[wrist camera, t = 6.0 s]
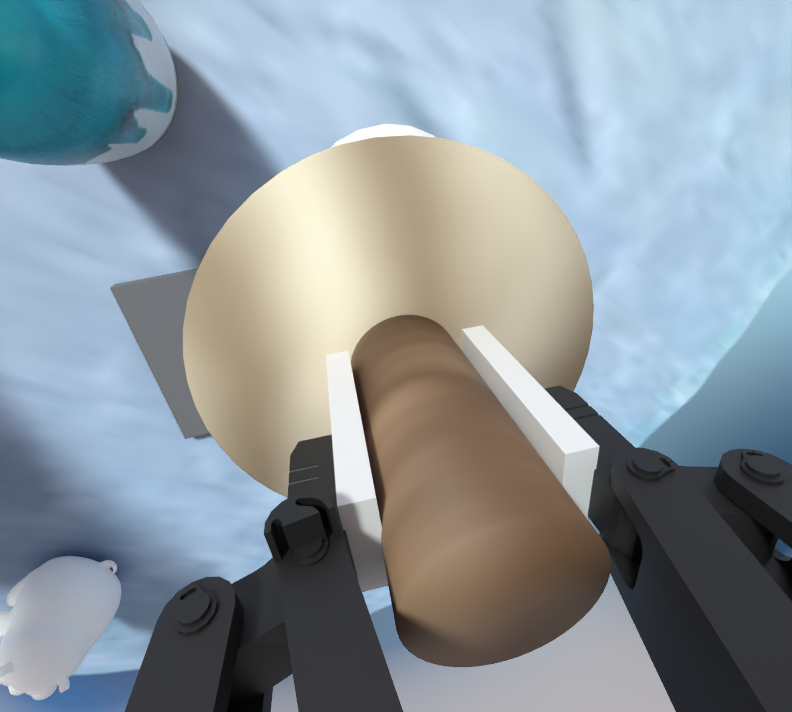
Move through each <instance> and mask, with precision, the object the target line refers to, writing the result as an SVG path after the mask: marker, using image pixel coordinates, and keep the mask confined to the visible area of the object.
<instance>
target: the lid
mask: <svg viewBox="0 0 792 712" xmlns="http://www.w3.org/2000/svg"><path fill="white" fill-rule="evenodd" d="M593 308H594V305H593V293H592V282H591V277H590V273H589V269H588V264H587V260H586V257H585V254H584V252H583V249H582V247H581V244H580V242H579V239H578V237H577V234H576V233H575V231H574V229H573V228H572V226H571V224H570V222H569V221H568V219H567V217H566V216H565V214H564V212H563V211H562V210H561V209H560V208H559V206H558V205H557V204H556V203H555V201H554V200H553V199H552V198H551V197H550V195H549V194H548V193H547V192H546V191H545V190H544V189H543V188H542V187H540V186H539V185H538V184H537V183H536V182H535V181H534V180H533V179H531V178H530V177H529V176H528V175H527V174H526V173H524V172H523V171H521V170H519V169H518V168H516V167H515V166H513V165H511V164H510V163H508V162H507V161H505V160H504V159H502V158H500V157H498V156H495V155H493V154H491V153H488V152H486V151H484V150H481V149H479V148H477V147H474V146H471V145H467V144H463V143H459V142H455V141H451V140H447V139H443V138H434V137H424V136H413V135H405V136H388V137H374V138H368V139H364V140H359V141H354V142H349V143H344V144H340V145H337V146H334V147H332V148H329V149H326V150H324V151H321V152H318V153H316V154H313V155H310V156H308V157H306V158H305V159H303V160H301V161H299V162H297V163H296V164H294V165H292V166H290V167H288V168H286V169H285V170H283V171H281V172H280V173H279V174H277V175H276V176H275V177H273V178H272V179H271V180H270V181H268V182H267V183H266V184H264V185H263V186H262V187H260V188H259V189H258V190H256V191H255V192H254V193H253V194H252V195H251V196H250V197H249V198H248V199H247V200H246V201H245V202H244V203H243V204H242V205H241V206H240V207H239V208H238V209H237V210H236V211H235V212H234V213H233V214H232V215H231V216H230V217H229V219H228V220H227V221H226V223H225V224H224V226H223V227H222V228H221V230H220V231H219V233H218V234H217V235H216V237H215V238H214V240H213V241H212V243H211V244H210V246H209V248H208V250H207V252H206V254H205V256H204V258H203V260H202V262H201V264H200V266H199V268H198V270H197V272H196V275H195V278H194V281H193V284H192V287H191V290H190V293H189V297H188V300H187V305H186V312H185V318H184V325H183V359H184V365H185V371H186V377H187V383H188V386H189V389H190V392H191V395H192V398H193V401H194V404H195V407H196V409H197V410H198V412H199V414H200V416H201V418H202V420H203V422H204V424H205V426H206V428H207V430H208V431H209V432H210V434H211V435H212V437H213V438H214V439H215V441H216V442H217V444H218V445H219V446H220V448H221V449H222V450H223V451H224V452H225V453H226V454H227V455H228V456H229V457H230V458H231V459H232V461H233V462H234V463H235V464H236V465H237V466H239V467H240V468H241V469H242V470H244V471H245V472H246V473H247V474H249V475H250V476H251V477H252V478H254V479H255V480H257V481H258V482H260V483H261V484H263V485H265V486H266V487H268V488H269V489H271V490H273V491H275V492H277V493H279V494H281V495H283V496H285V497H288V485H289V473H290V471H289V467H290V455H291V453H292V452H293V450H294V448H295V447H296V445H297V443H298V442H299V441H303V440H308V439H313V438H317V437H322V436H327V435H332V431H331V418H330V405H329V392H328V379H327V366H326V355H328V354H333V353H338V352H344V351H348V352H349V357H350V362H351V367H352V373H353V378H354V383H355V388H356V394H357V399H358V404H359V410H360V415H361V420H362V425H363V431H364V436H365V441H366V447H367V452H368V457H369V462H370V468H371V473H372V478H373V484H374V489H375V494H376V499H377V505H378V510H379V515H380V521H381V526H382V532H381V545H382V552H383V557H384V563H385V568H386V574H387V579H388V585H389V591H390V596H391V602H392V607H393V613H394V618H395V624H396V630H397V633H398V636H399V639H400V640H401V642H402V644H403V645H404V646H405V647H406V649H407V650H408V651H409V652H411V653H412V654H413V655H415V656H416V657H418V658H420V659H422V660H424V661H427V662H430V663H433V664H437V665H443V666H451V667H473V666H482V665H488V664H494V663H498V662H502V661H506V660H509V659H512V658H515V657H518V656H521V655H523V654H526V653H529V652H531V651H533V650H535V649H537V648H539V647H542V646H543V645H545V644H547V643H549V642H551V641H552V640H554V639H556V638H557V637H559V636H560V635H562V634H563V633H565V632H566V631H567V630H569V629H570V628H571V627H572V626H574V625H575V624H576V623H577V622H578V621H579V620H580V619H582V618H583V617H584V616H585V615H586V614H587V613H588V612H589V611H590V609H591V608H592V607H593V606H594V604H595V603H596V602H597V600H598V599H599V597H600V596H601V594H602V593H603V591H604V589H605V586H606V584H607V582H608V578H609V575H610V569H611V560H610V554H609V551H608V548H607V546H606V545H605V543H604V541H603V540H602V538H601V537H600V536H599V534H598V533H597V532H596V530H595V529H594V528H593V526H592V525H591V524H590V522H589V521H588V520H587V518H586V517H585V516H584V514H583V513H582V512H581V510H580V509H579V508H578V506H577V505H576V504H575V502H574V501H573V500H572V498H571V497H570V495H569V494H568V493H567V491H566V490H565V489H564V487H563V486H562V485H561V483H560V482H559V481H558V479H557V478H556V477H555V475H554V474H553V473H552V471H551V470H550V469H549V467H548V466H547V465H546V463H545V462H544V461H543V459H542V458H541V457H540V455H539V454H538V453H537V451H536V450H535V449H534V447H533V446H532V444H531V443H530V442H529V440H528V439H527V438H526V436H525V435H524V434H523V432H522V431H521V430H520V428H519V427H518V426H517V424H516V423H515V422H514V420H513V419H512V418H511V416H510V415H509V414H508V412H507V411H506V410H505V408H504V407H503V406H502V404H501V403H500V402H499V400H498V399H497V398H496V396H495V395H494V393H493V392H492V391H491V389H490V388H489V387H488V385H487V384H486V383H485V381H484V380H483V379H482V377H481V376H480V375H479V373H478V372H477V371H476V369H475V368H474V367H473V365H472V364H471V363H470V361H469V360H468V359H467V357H466V356H465V355H464V353H463V347H462V329H466V328H471V327H476V326H482V325H483V326H484V327H485V328H486V329H487V330H488V331H489V332H490V333H491V334H492V335H493V336H494V337H495V339H496V340H497V341H498V342H499V343H500V344H501V345H502V346H503V347H504V348H505V349H506V350H507V351H508V352H509V353H510V354H511V355H512V356H513V357H514V358H515V359H516V360H517V361H518V362H519V363H520V364H521V365H522V367H523V368H524V369H525V370H526V371H527V372H528V373H529V374H530V375H531V376H532V377H533V378H534V379H535V380H536V381H537V382H538V383H539V384H540V385H541V386H542V387H543V388H544V389H545V388H550V387H554V386H559V385H560V386H562V387H564V388H566V389H569V390H571V391H574V389H575V387H576V384H577V382H578V380H579V378H580V375H581V373H582V370H583V367H584V364H585V360H586V357H587V354H588V350H589V345H590V339H591V334H592V327H593Z"/></svg>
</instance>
